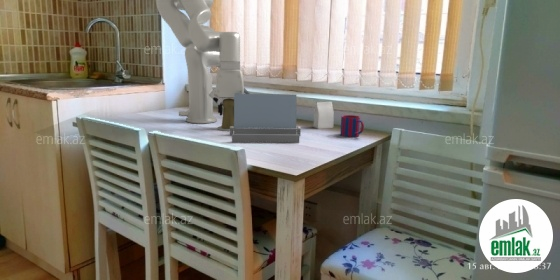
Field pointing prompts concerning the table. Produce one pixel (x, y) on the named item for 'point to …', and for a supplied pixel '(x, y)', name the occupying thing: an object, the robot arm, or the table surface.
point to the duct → (265, 135)
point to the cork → (228, 113)
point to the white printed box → (323, 115)
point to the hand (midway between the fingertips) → (230, 114)
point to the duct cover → (264, 111)
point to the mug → (351, 126)
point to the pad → (222, 129)
